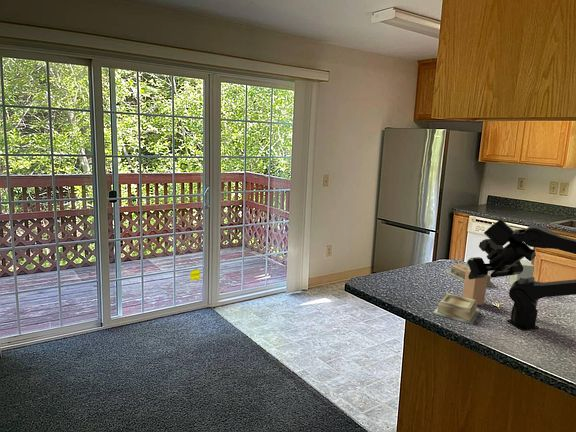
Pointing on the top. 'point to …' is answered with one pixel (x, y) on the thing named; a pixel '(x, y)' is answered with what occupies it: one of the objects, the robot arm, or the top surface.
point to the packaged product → (463, 272)
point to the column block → (475, 288)
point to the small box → (527, 272)
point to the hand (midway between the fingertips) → (480, 277)
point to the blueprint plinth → (457, 308)
